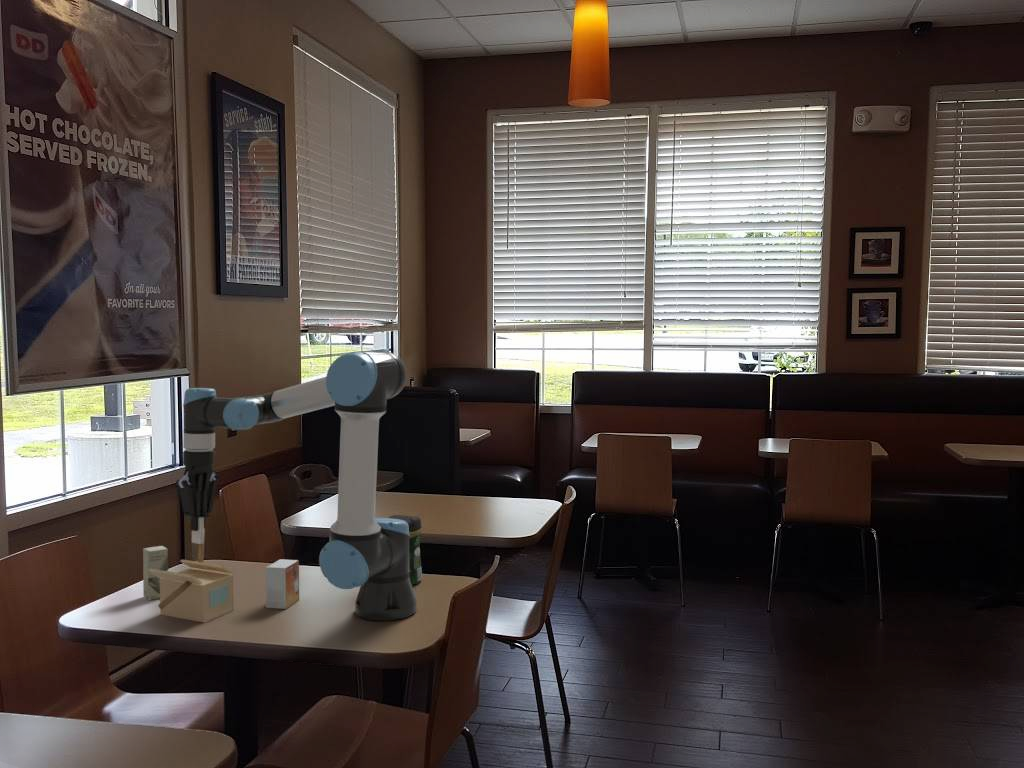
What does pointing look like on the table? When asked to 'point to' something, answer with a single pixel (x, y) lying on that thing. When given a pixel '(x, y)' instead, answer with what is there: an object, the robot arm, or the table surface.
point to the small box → (282, 583)
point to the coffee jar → (413, 546)
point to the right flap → (206, 566)
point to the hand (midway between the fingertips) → (197, 542)
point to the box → (153, 560)
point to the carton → (199, 596)
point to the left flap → (176, 577)
